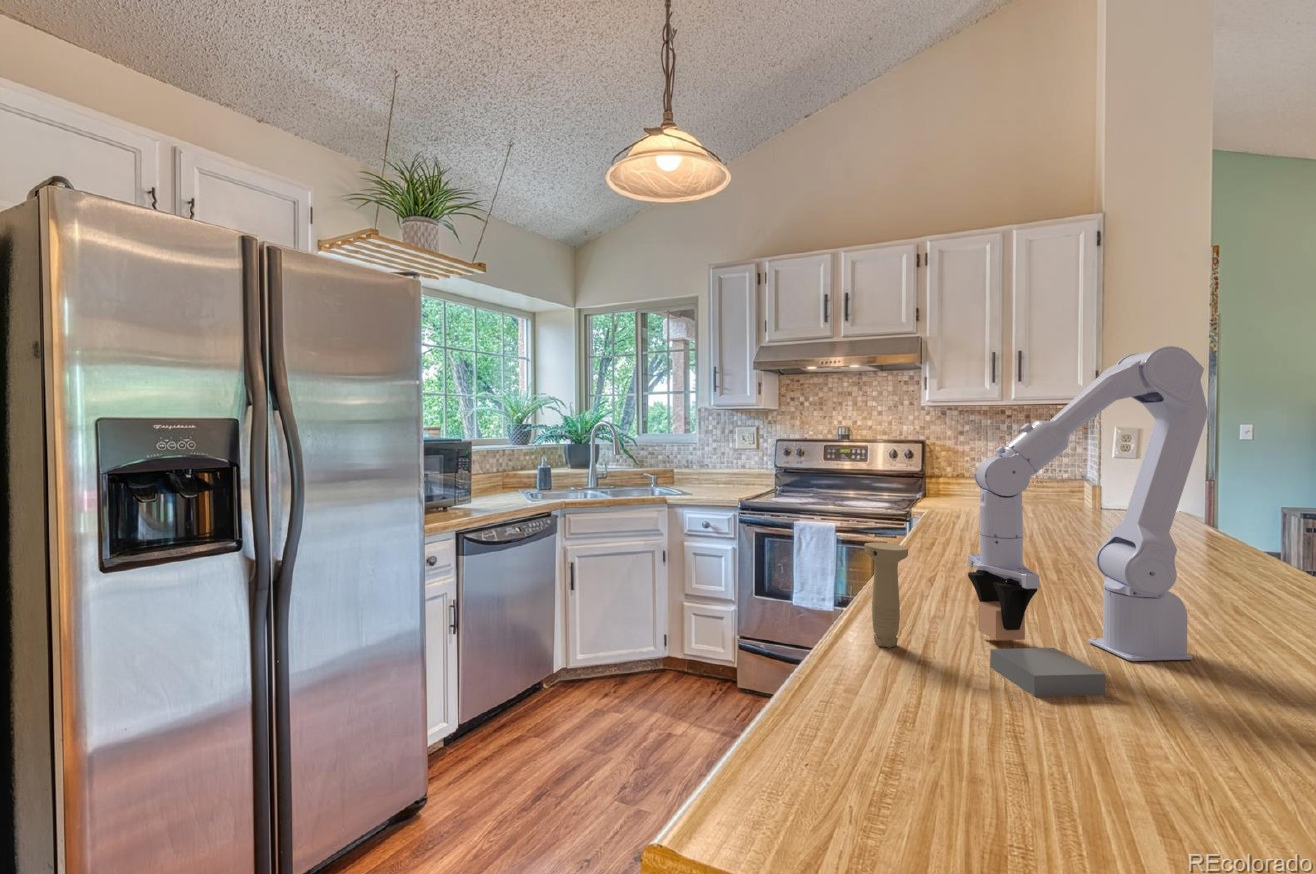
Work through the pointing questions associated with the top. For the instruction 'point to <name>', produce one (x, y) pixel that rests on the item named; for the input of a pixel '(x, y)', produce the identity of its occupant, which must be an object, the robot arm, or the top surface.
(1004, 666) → the plate
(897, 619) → the handle
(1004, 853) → the top surface
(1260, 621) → the top surface
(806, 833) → the top surface
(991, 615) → the terracotta block
